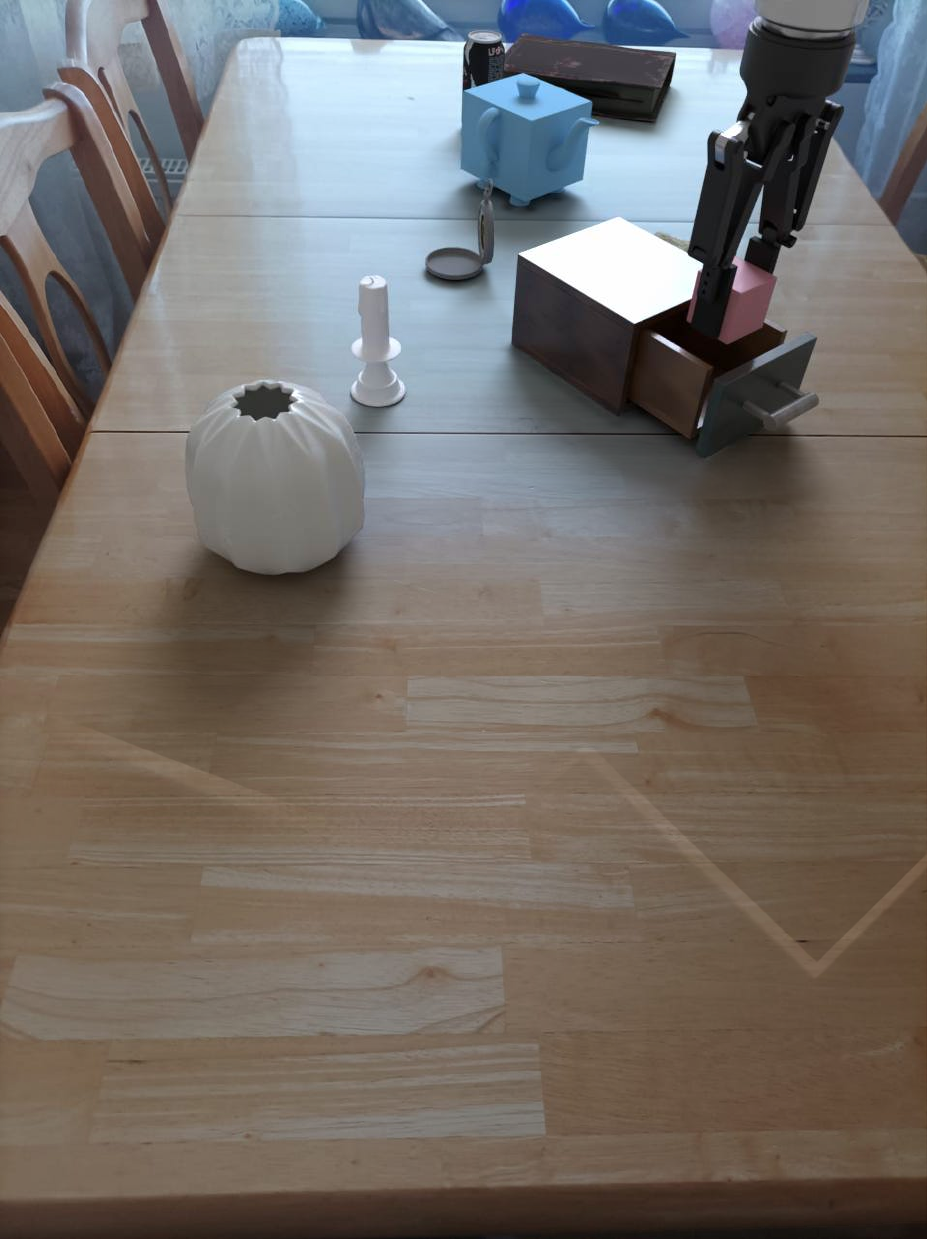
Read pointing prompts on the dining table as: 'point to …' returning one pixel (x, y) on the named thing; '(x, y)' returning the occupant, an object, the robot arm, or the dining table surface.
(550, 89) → the teapot
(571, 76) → the diary
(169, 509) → the dining table surface
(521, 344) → the cabinet
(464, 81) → the beverage can
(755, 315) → the block
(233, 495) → the vase
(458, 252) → the pocket watch
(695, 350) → the drawer
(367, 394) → the candle
